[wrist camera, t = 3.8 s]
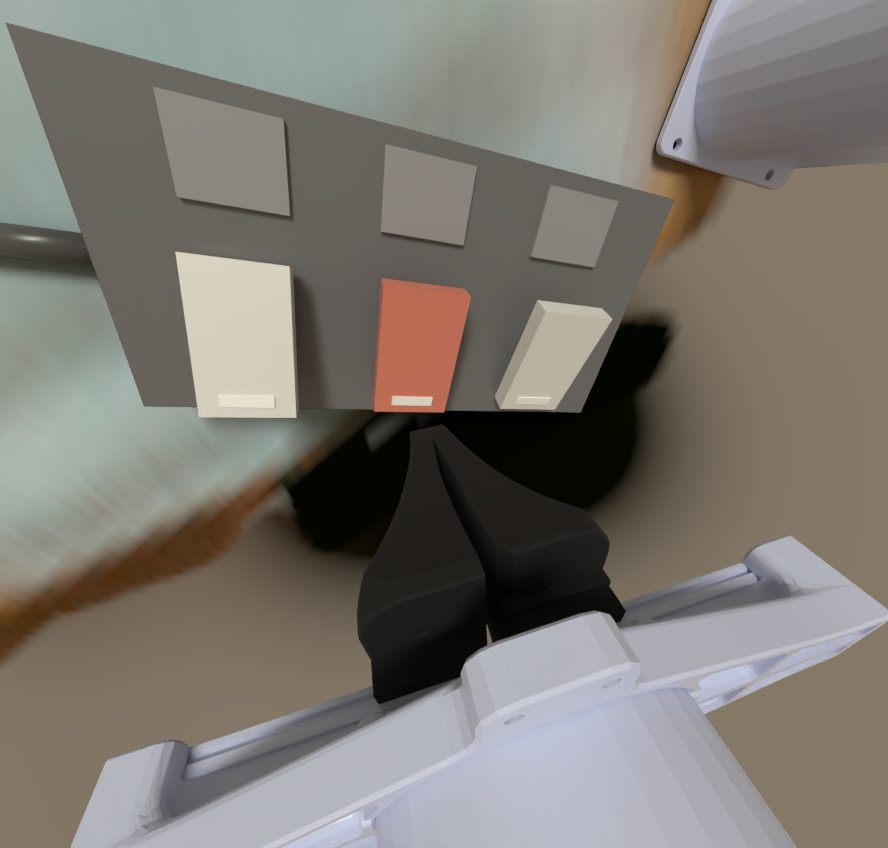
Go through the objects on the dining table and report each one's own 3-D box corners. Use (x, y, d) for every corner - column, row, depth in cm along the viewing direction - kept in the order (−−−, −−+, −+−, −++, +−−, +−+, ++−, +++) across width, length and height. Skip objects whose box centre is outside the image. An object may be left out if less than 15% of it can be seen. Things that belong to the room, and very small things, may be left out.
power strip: (631, 199, 18) (677, 199, 16) (557, 391, 25) (582, 413, 22) (-190, -9, 10) (-382, -82, 7) (20, 372, 16) (-41, 406, 13)
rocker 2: (595, 302, 17) (613, 319, 16) (544, 391, 21) (555, 410, 20) (532, 293, 16) (546, 312, 14) (491, 389, 20) (500, 409, 19)
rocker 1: (295, 269, 14) (289, 266, 12) (300, 407, 16) (296, 418, 14) (193, 257, 13) (174, 251, 11) (212, 405, 15) (198, 417, 13)
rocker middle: (460, 284, 15) (471, 297, 14) (437, 395, 19) (444, 413, 17) (379, 274, 14) (383, 286, 13) (371, 393, 18) (374, 412, 16)
